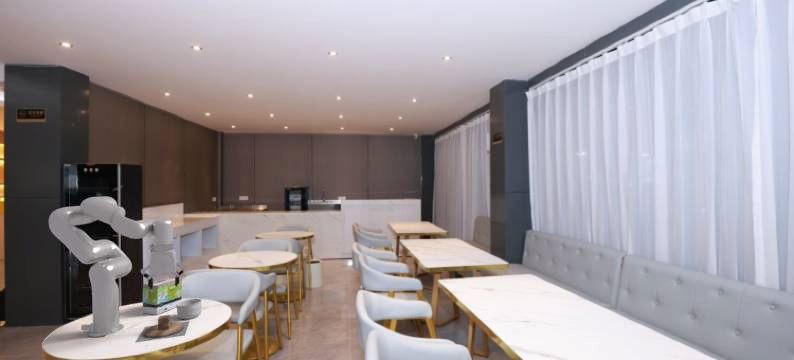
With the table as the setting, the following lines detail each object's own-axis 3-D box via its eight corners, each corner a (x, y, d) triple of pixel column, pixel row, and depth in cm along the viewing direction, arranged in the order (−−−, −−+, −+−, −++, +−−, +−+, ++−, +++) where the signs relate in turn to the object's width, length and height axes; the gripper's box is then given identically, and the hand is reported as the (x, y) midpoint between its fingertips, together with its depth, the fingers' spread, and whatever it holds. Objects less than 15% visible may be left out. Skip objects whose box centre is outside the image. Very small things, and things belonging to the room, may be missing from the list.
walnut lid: (140, 340, 164) (140, 325, 164) (148, 327, 178) (147, 313, 178) (181, 334, 169) (181, 320, 169) (185, 322, 183) (185, 309, 183)
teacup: (191, 322, 185) (191, 305, 185) (171, 321, 187) (170, 304, 187) (210, 312, 198) (210, 296, 198) (192, 311, 200) (191, 295, 200)
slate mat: (135, 343, 162) (135, 342, 162) (145, 328, 178) (145, 326, 178) (184, 336, 168) (184, 335, 168) (189, 322, 185) (189, 321, 185)
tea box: (157, 315, 195) (157, 285, 195) (142, 313, 198) (141, 284, 198) (182, 305, 209) (182, 278, 209) (167, 304, 212) (167, 276, 212)
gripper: (138, 251, 166) (139, 291, 167) (184, 247, 173) (185, 286, 173) (142, 248, 173) (143, 287, 173) (186, 245, 180) (187, 282, 180)
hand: (164, 286), depth 173 cm, fingers open, 9 cm apart
